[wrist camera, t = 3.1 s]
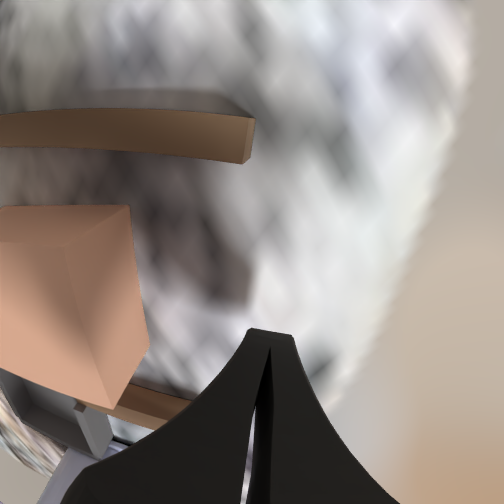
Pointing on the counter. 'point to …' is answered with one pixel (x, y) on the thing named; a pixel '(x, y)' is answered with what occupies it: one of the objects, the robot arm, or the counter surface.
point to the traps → (57, 415)
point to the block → (71, 299)
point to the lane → (135, 140)
